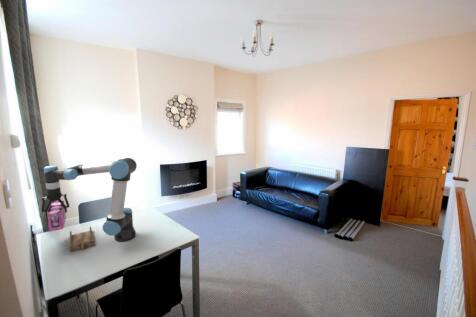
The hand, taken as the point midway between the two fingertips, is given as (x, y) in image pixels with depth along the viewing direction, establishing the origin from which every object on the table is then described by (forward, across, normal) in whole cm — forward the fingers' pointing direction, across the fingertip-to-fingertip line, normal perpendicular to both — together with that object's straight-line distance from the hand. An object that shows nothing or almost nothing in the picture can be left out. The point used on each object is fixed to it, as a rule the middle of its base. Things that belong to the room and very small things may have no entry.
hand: (57, 218), depth 163 cm
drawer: (+21, -13, +2) cm, 25 cm away
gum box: (+5, 0, 0) cm, 5 cm away
